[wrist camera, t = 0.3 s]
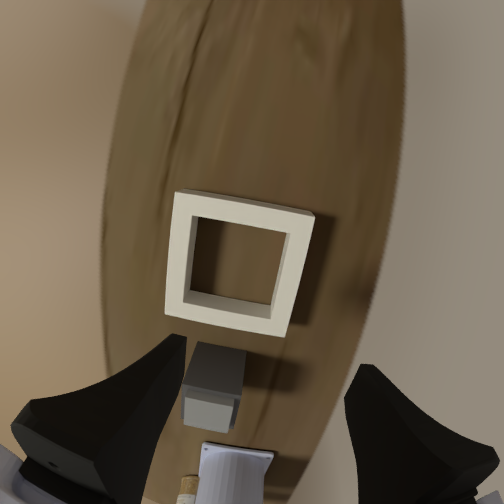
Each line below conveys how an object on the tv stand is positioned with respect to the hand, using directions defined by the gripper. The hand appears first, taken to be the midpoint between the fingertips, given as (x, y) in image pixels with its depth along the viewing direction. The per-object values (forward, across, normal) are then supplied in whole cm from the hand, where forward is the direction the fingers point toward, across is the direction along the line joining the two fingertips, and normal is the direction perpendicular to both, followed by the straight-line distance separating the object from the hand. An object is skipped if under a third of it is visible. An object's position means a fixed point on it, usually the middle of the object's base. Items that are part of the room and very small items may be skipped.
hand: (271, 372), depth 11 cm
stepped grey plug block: (+10, +3, +9) cm, 14 cm away
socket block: (+10, +3, -1) cm, 10 cm away
